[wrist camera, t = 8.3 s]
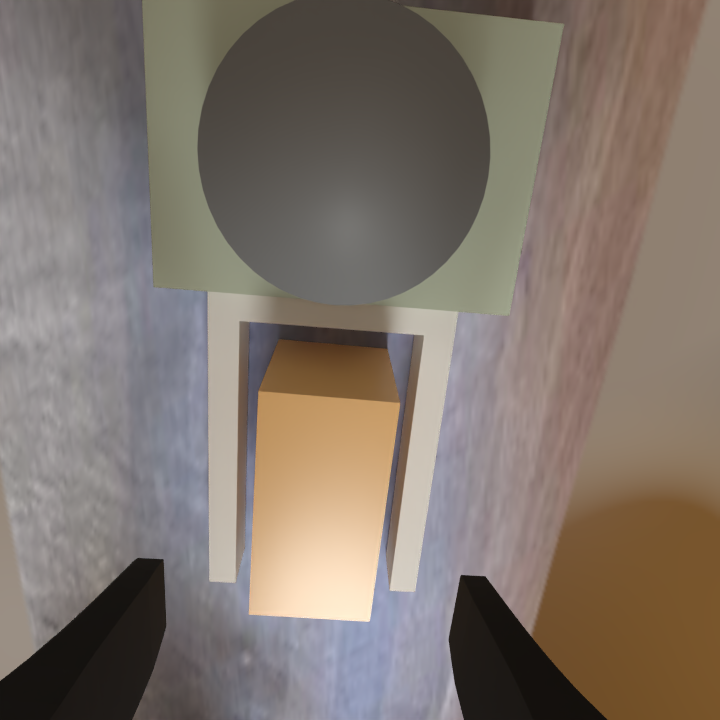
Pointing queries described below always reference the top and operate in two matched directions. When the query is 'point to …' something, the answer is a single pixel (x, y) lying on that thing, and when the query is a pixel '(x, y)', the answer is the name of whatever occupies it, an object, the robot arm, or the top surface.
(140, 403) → the top surface
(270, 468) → the chute block
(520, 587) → the top surface
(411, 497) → the green base with dome
